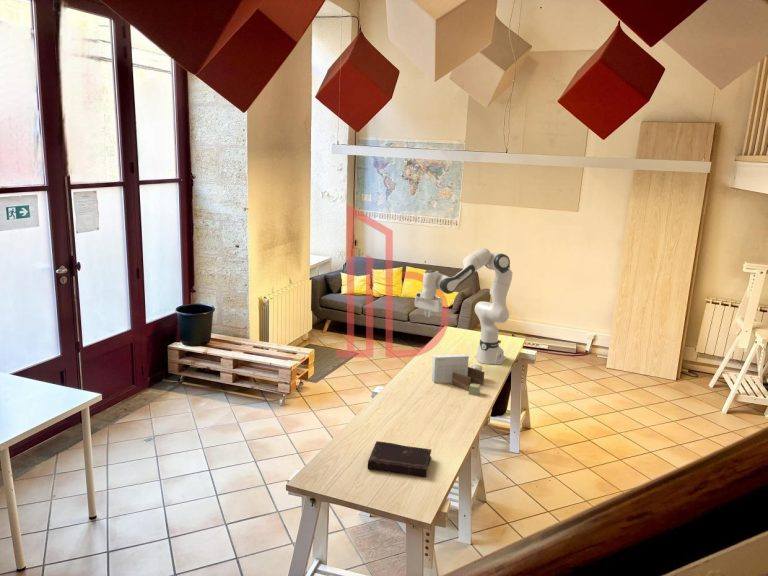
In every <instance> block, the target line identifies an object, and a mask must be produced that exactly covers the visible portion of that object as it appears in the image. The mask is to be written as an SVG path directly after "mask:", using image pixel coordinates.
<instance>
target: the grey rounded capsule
mask: <svg viewBox="0 0 768 576" xmlns="http://www.w3.org/2000/svg"><path fill="white" fill-rule="evenodd" d="M471 368H474V369H477V370H480V371H483V366H482V365H479V364H473V365H471Z"/></svg>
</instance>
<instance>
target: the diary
mask: <svg viewBox="0 0 768 576" xmlns="http://www.w3.org/2000/svg"><path fill="white" fill-rule="evenodd" d="M431 454H432V449H431V448H424V447H422V448H421V447H415V446H410V445H409V446H408V445H407V446H406V445H402V444H398V443H392V442H385V441H378V440H377V441H376V442H375V444H374V445H373V449H372V451H371V453H370V456H369V458H368V459H367V470H370V471H379V472H387V473H391V474H392V473H393V474H398V475H399V474H400V475H406V476H413V477H420V478H427V473H428V472H427V471H428V467H429V466H430V464H431V460H432V455H431Z"/></svg>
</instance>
